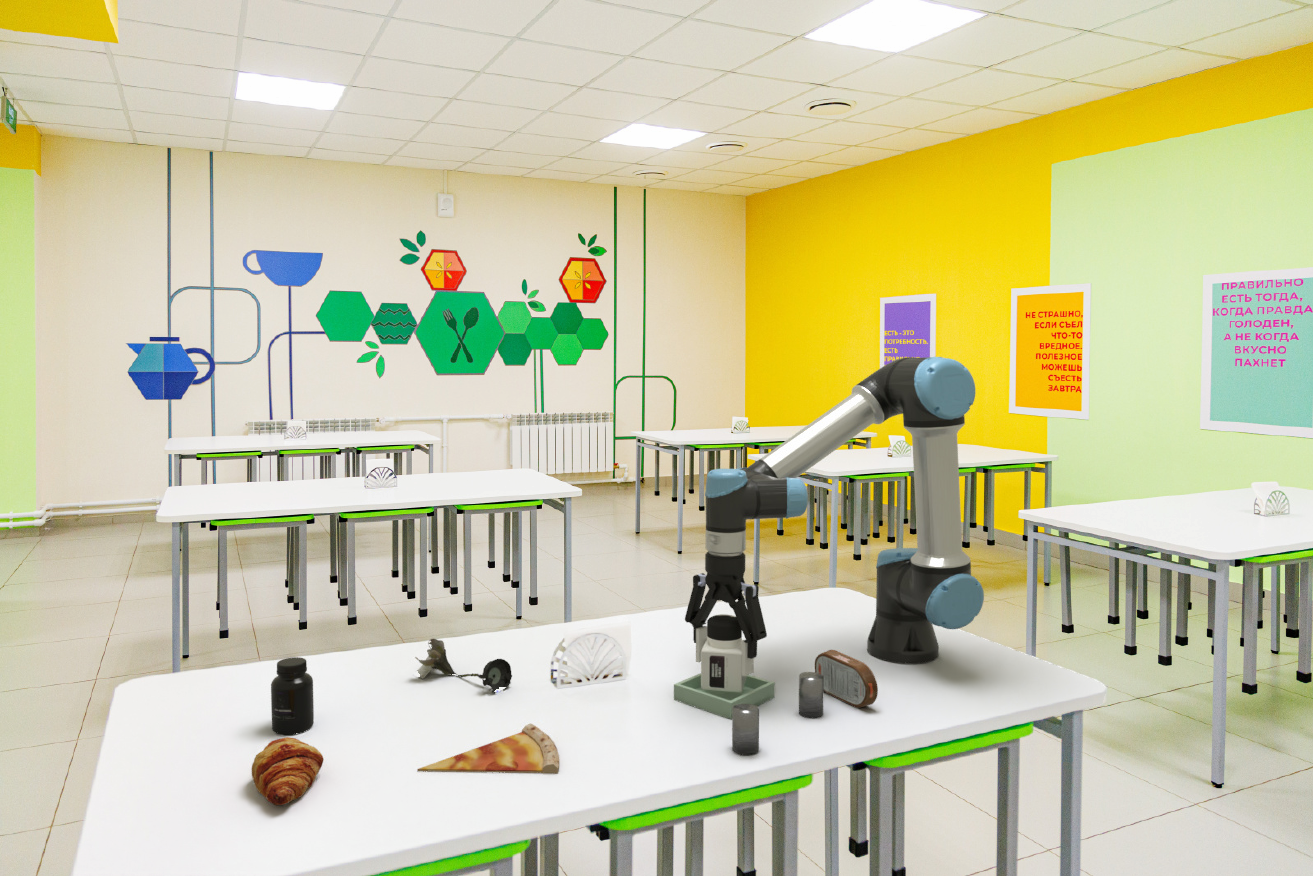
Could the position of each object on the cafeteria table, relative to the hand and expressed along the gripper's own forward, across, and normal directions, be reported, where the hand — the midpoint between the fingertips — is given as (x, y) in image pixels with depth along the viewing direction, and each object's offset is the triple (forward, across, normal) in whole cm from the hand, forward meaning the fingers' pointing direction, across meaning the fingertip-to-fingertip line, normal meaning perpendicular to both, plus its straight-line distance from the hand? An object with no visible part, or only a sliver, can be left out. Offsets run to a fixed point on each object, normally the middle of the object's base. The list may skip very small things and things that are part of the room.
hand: (724, 667), depth 167 cm
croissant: (+7, -30, -70) cm, 77 cm away
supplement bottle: (+7, -48, -61) cm, 78 cm away
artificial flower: (+7, -45, -29) cm, 54 cm away
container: (+3, 0, 0) cm, 3 cm away
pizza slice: (+7, -14, -42) cm, 45 cm away
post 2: (+6, +16, +5) cm, 18 cm away
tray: (+6, 0, 0) cm, 6 cm away
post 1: (+6, +16, -15) cm, 23 cm away
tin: (+6, +17, +15) cm, 24 cm away
